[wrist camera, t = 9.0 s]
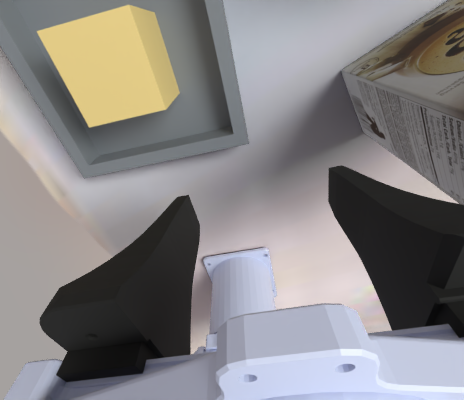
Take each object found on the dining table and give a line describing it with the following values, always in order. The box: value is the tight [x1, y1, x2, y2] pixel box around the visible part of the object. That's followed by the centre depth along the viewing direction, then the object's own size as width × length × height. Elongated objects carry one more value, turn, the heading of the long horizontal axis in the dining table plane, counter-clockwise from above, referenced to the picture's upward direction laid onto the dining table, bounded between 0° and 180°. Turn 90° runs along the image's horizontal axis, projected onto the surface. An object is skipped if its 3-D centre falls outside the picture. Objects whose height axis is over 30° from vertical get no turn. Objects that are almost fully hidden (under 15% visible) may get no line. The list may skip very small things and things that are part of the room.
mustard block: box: [37, 5, 180, 128], centre depth 15 cm, size 5×5×5 cm
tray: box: [0, 0, 249, 178], centre depth 17 cm, size 14×14×3 cm
